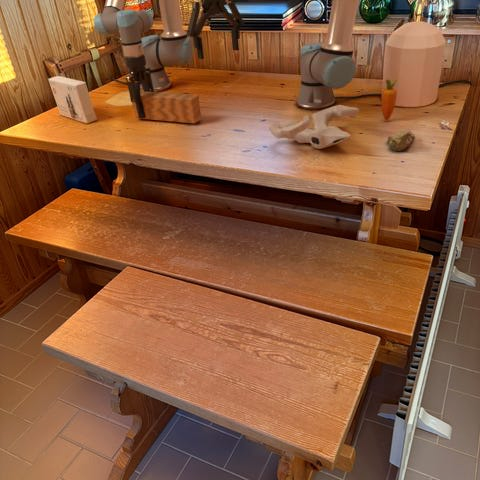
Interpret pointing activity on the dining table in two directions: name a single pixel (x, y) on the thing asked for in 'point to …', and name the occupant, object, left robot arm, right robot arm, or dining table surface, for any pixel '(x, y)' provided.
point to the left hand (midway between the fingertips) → (146, 114)
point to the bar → (170, 107)
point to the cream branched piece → (316, 128)
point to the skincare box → (72, 99)
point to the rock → (400, 140)
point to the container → (414, 63)
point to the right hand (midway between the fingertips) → (218, 54)
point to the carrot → (388, 99)
